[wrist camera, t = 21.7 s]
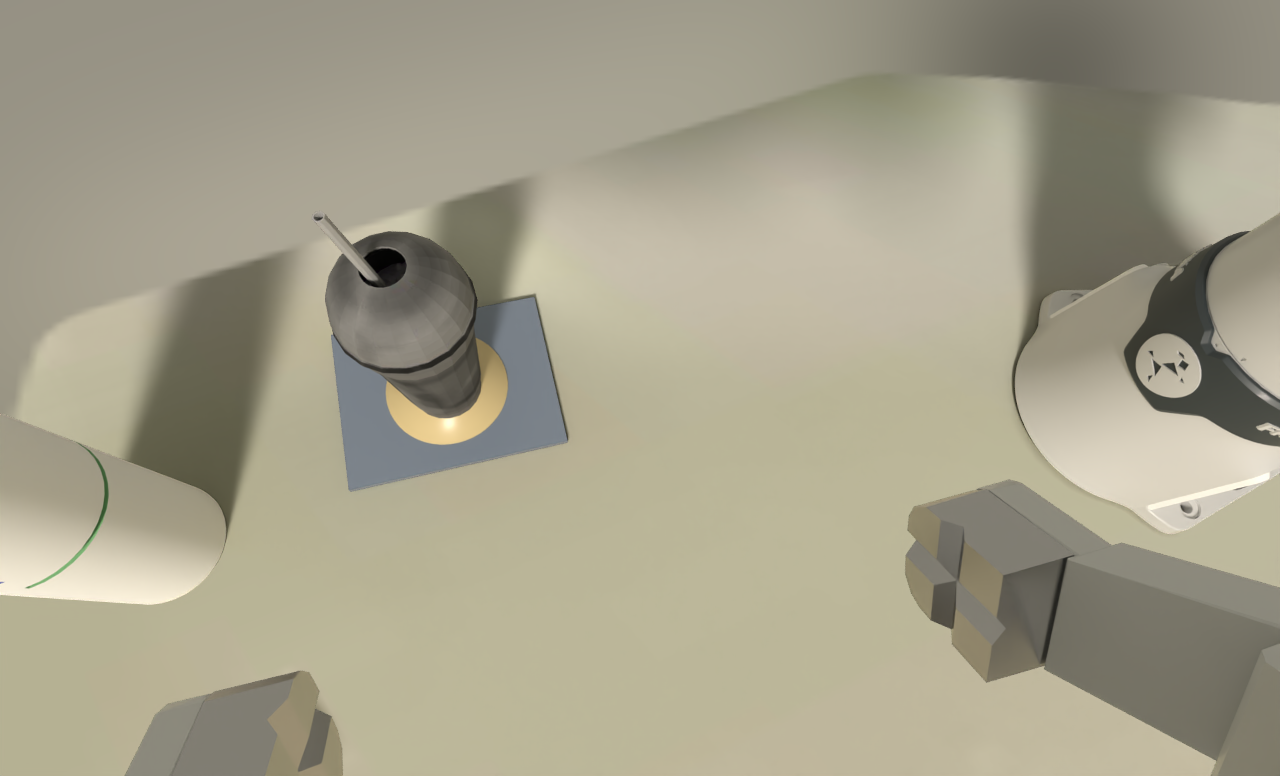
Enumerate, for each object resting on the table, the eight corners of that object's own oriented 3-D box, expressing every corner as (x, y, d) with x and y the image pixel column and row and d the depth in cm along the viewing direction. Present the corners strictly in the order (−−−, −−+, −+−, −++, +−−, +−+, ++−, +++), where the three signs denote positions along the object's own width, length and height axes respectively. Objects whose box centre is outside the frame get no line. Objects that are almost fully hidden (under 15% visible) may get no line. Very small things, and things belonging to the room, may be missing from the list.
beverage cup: (519, 410, 44) (474, 245, 25) (415, 457, 42) (283, 318, 23) (476, 321, 46) (405, 107, 27) (375, 363, 44) (224, 165, 25)
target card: (534, 299, 47) (534, 296, 47) (567, 442, 44) (567, 440, 43) (333, 337, 45) (330, 334, 45) (350, 491, 42) (348, 490, 41)
